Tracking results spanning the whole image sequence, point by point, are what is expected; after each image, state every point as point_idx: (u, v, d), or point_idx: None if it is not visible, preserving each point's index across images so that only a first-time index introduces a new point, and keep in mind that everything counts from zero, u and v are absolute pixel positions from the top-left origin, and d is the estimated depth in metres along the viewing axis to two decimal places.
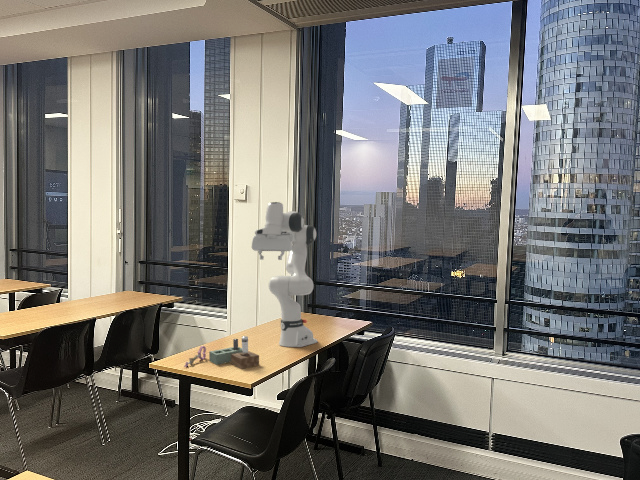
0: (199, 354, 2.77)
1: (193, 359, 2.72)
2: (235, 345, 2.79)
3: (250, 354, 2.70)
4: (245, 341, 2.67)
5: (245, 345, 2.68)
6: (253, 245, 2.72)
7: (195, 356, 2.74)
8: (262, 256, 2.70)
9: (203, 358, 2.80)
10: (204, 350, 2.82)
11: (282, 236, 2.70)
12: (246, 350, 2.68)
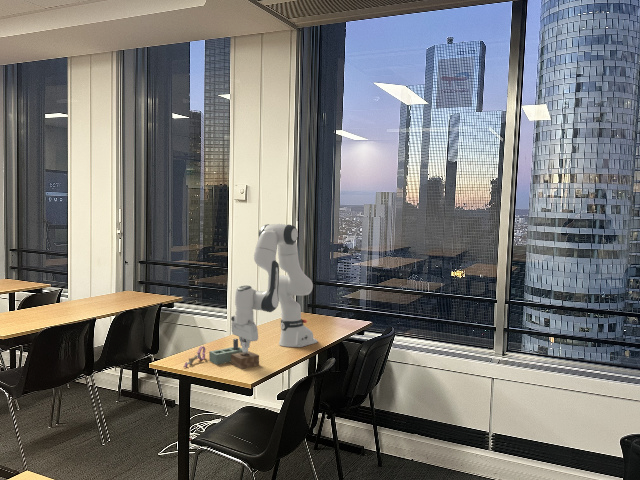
0: (198, 354, 2.76)
1: (192, 359, 2.71)
2: (235, 345, 2.79)
3: (250, 354, 2.70)
4: (245, 341, 2.67)
5: None
6: (232, 330, 2.74)
7: (194, 356, 2.73)
8: (241, 343, 2.70)
9: (202, 358, 2.80)
10: (204, 350, 2.82)
11: (247, 326, 2.63)
12: (246, 350, 2.68)
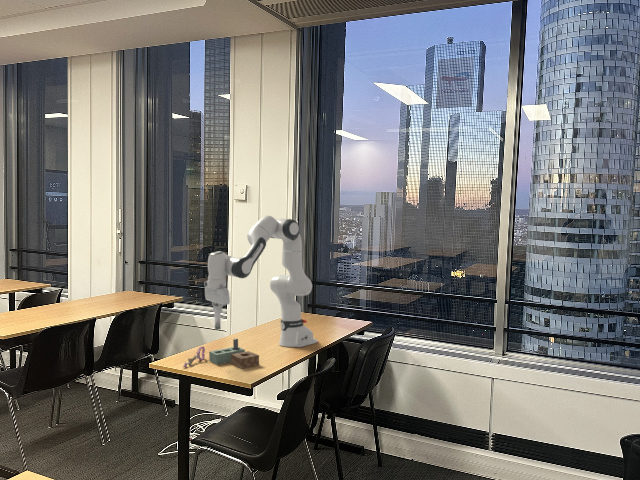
0: (198, 354, 2.76)
1: (192, 359, 2.71)
2: (235, 345, 2.79)
3: (250, 354, 2.70)
4: (217, 305, 2.72)
5: None
6: (205, 296, 2.79)
7: (194, 356, 2.73)
8: None
9: (202, 358, 2.79)
10: (203, 350, 2.81)
11: (219, 290, 2.67)
12: (218, 314, 2.72)
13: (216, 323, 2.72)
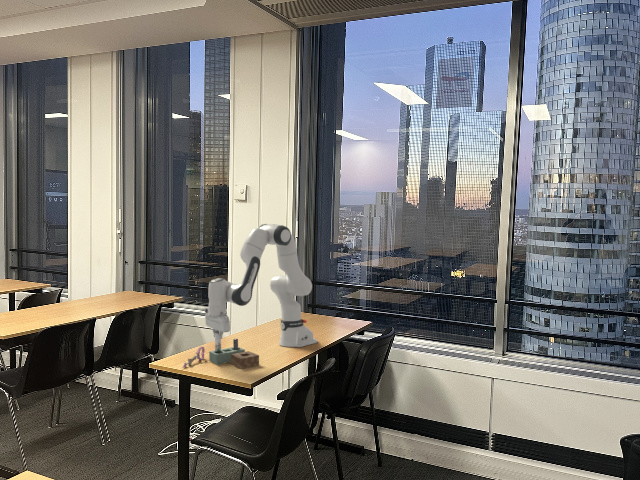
0: (198, 355, 2.76)
1: (192, 360, 2.70)
2: (235, 345, 2.79)
3: (250, 354, 2.70)
4: (218, 332, 2.72)
5: None
6: (206, 322, 2.80)
7: (194, 357, 2.73)
8: (214, 335, 2.75)
9: (202, 359, 2.79)
10: (203, 351, 2.81)
11: (219, 317, 2.68)
12: (219, 341, 2.73)
13: (217, 350, 2.73)
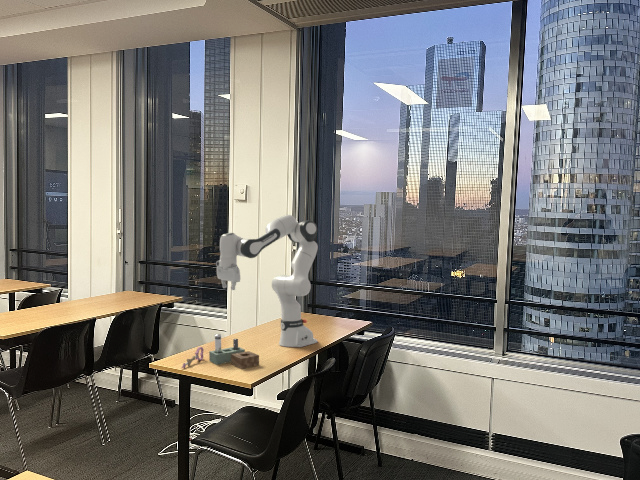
0: (197, 355, 2.75)
1: (191, 360, 2.70)
2: (235, 345, 2.79)
3: (250, 354, 2.70)
4: (218, 338, 2.73)
5: (218, 342, 2.73)
6: (217, 275, 2.98)
7: (193, 357, 2.72)
8: (223, 285, 2.95)
9: (201, 359, 2.78)
10: (202, 351, 2.80)
11: (230, 268, 2.86)
12: (219, 347, 2.73)
13: None
